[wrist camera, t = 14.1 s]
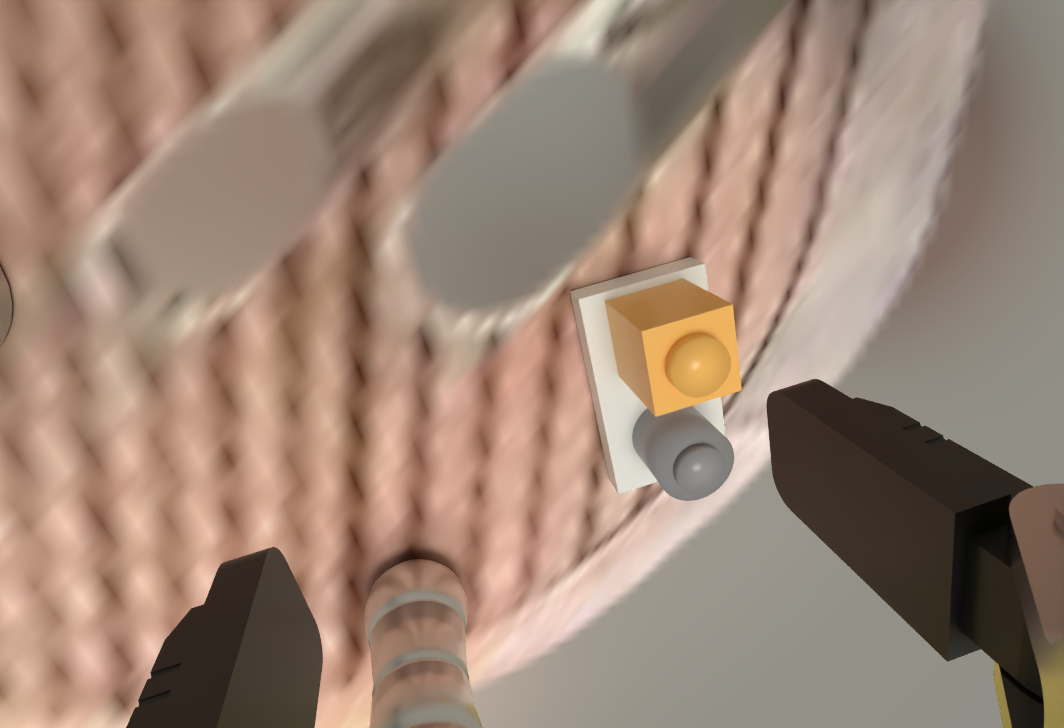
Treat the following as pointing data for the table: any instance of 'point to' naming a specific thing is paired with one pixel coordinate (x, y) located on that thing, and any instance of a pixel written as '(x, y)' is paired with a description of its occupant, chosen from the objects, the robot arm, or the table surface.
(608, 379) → the white rectangular plate
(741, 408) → the table surface
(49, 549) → the table surface
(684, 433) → the capped post
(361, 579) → the table surface
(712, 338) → the domed tan cube
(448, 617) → the plastic bottle
